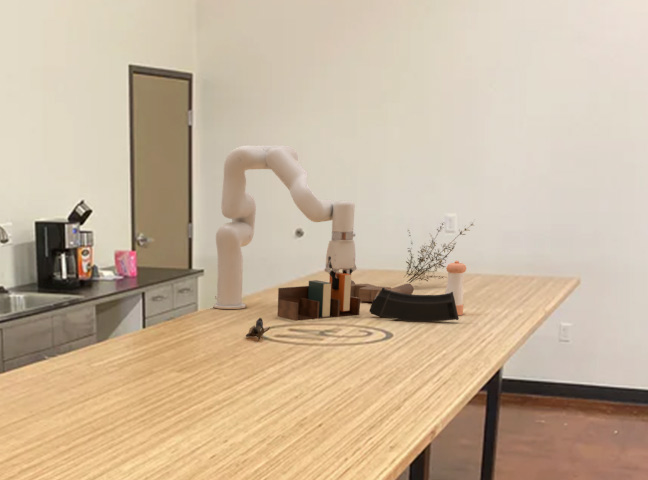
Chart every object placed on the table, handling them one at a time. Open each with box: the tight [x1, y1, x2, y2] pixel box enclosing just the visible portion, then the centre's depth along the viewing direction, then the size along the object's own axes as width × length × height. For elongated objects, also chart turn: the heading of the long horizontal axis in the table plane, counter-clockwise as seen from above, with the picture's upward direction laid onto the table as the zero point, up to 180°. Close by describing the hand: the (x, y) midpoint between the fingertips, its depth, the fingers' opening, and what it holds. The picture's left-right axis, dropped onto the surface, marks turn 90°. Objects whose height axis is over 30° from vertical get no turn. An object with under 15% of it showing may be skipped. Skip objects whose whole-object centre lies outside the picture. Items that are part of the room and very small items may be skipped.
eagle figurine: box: [245, 317, 271, 342], centre depth 341 cm, size 8×7×9 cm
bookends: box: [350, 279, 414, 303], centre depth 432 cm, size 35×6×29 cm
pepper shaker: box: [444, 260, 467, 316], centre depth 387 cm, size 7×7×19 cm
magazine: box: [369, 288, 460, 323], centre depth 373 cm, size 17×3×30 cm
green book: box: [308, 279, 331, 317], centre depth 381 cm, size 9×4×12 cm, turn 26°
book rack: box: [277, 285, 361, 322], centre depth 382 cm, size 12×27×11 cm, turn 116°
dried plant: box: [404, 220, 475, 284], centre depth 466 cm, size 30×31×45 cm
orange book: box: [329, 271, 352, 311], centre depth 384 cm, size 9×3×13 cm, turn 26°
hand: (339, 288), depth 384 cm, fingers closed on orange book, 3 cm apart
